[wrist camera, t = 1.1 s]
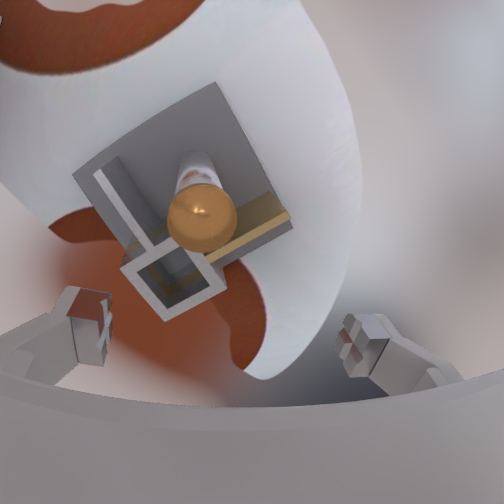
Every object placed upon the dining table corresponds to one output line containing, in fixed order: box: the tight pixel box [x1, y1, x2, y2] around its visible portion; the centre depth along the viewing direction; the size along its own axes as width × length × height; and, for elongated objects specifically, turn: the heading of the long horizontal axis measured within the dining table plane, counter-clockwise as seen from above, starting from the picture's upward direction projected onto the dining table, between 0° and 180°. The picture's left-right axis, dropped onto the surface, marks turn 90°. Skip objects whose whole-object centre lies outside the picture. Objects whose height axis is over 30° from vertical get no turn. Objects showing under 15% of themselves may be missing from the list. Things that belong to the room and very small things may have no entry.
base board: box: [72, 82, 293, 275], centre depth 39 cm, size 22×21×1 cm
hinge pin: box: [167, 150, 237, 253], centre depth 29 cm, size 5×5×19 cm
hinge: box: [93, 156, 291, 322], centre depth 35 cm, size 19×19×8 cm
